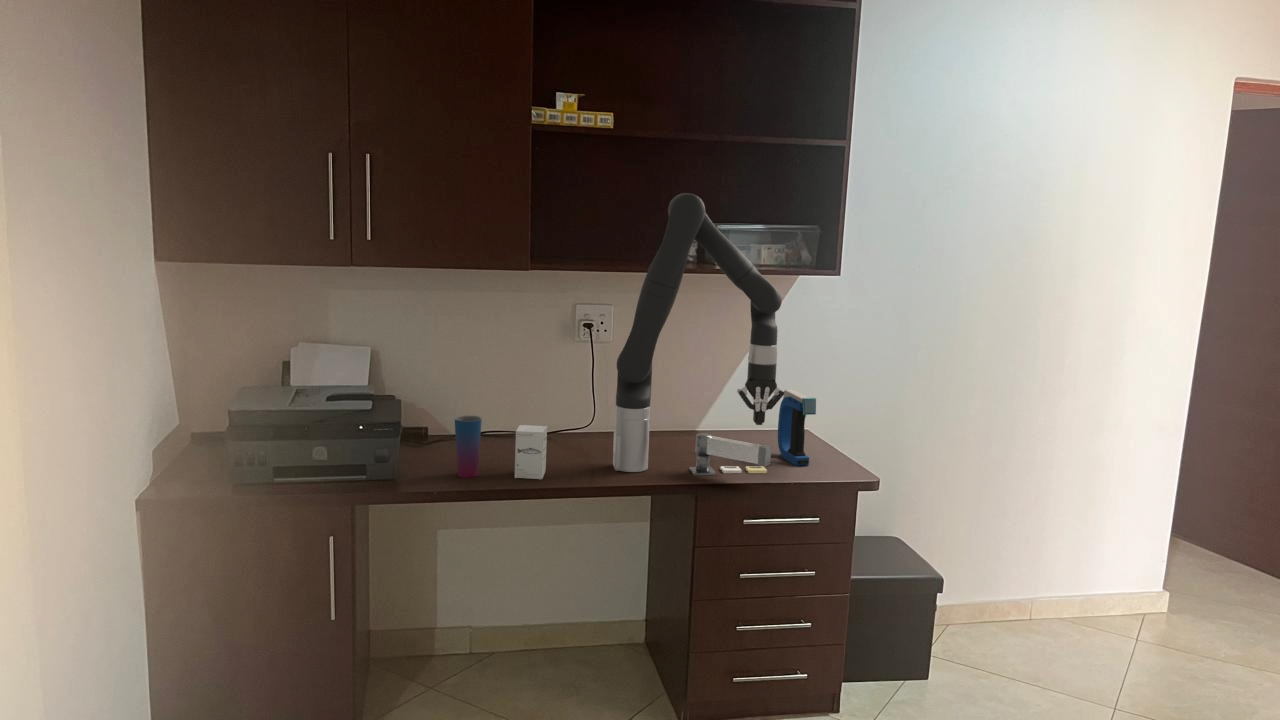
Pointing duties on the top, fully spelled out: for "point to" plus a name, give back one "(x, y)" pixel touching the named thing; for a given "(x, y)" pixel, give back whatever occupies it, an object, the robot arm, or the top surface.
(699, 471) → the gray square plate
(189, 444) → the top surface
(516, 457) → the supplement box
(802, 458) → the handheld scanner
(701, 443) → the bar
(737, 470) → the label plate
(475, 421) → the cup
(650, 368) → the robot arm
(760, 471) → the label plate
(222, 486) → the top surface
